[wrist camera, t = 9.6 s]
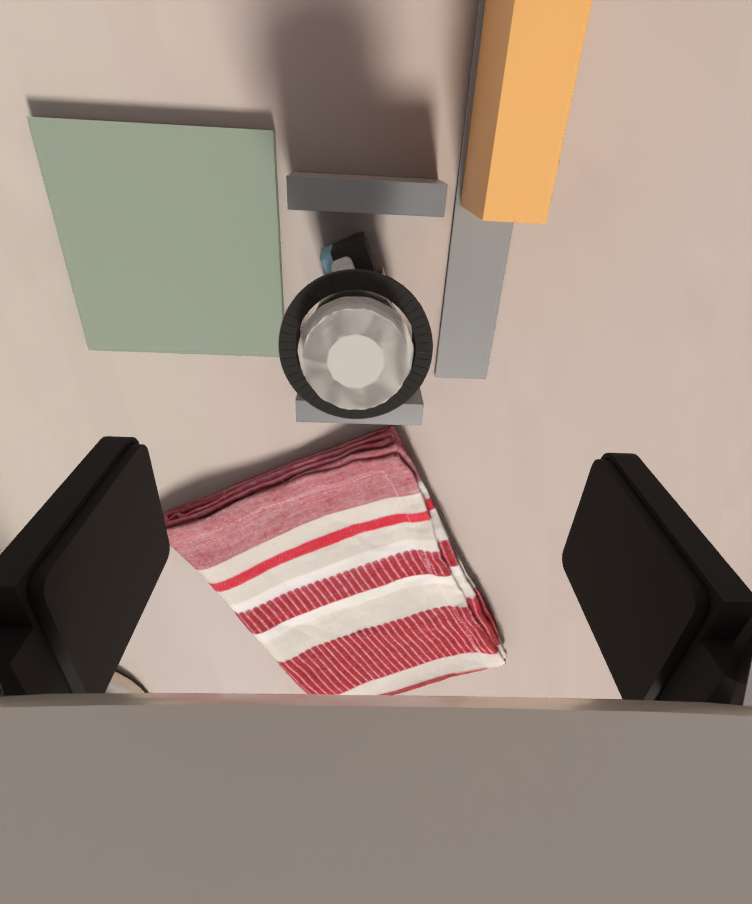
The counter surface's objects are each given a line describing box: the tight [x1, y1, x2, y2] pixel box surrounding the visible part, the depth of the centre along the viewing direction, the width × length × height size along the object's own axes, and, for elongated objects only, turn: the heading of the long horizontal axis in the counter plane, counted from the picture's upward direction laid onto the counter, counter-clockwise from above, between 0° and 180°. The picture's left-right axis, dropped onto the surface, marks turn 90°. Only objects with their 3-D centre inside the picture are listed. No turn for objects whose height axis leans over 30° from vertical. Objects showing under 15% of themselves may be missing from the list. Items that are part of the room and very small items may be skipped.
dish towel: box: [163, 425, 507, 695], centre depth 36 cm, size 17×23×3 cm
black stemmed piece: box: [278, 231, 433, 419], centre depth 21 cm, size 7×5×10 cm
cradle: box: [286, 0, 513, 426], centre depth 22 cm, size 10×19×3 cm, turn 177°
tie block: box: [460, 0, 592, 224], centre depth 19 cm, size 2×8×5 cm, turn 177°
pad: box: [27, 117, 284, 357], centre depth 24 cm, size 10×10×1 cm
